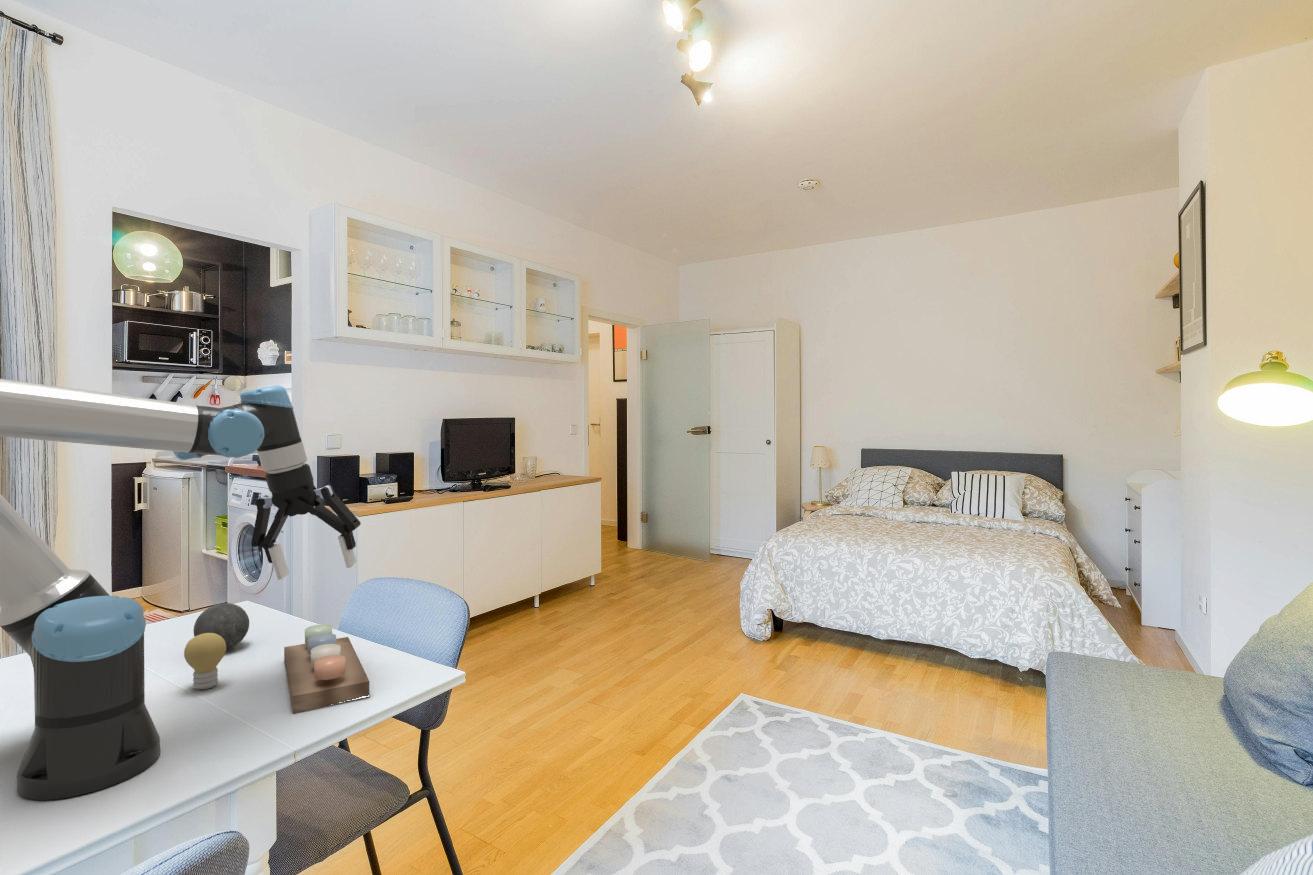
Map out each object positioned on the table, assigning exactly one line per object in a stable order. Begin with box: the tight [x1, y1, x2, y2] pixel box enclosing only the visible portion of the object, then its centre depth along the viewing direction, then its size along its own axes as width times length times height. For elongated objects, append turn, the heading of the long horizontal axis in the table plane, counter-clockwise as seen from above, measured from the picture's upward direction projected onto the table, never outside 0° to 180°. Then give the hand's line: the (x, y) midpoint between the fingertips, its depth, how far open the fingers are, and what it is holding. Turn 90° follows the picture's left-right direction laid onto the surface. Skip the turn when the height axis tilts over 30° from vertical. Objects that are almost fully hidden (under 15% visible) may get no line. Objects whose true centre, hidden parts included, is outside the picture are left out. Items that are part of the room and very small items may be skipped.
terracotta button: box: [314, 655, 345, 680], centre depth 114 cm, size 5×5×3 cm
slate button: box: [308, 633, 337, 655], centre depth 126 cm, size 5×5×3 cm
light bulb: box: [183, 633, 227, 691], centre depth 118 cm, size 6×6×10 cm
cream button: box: [311, 644, 341, 666], centre depth 120 cm, size 5×5×3 cm
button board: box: [283, 636, 370, 714], centre depth 123 cm, size 12×28×3 cm, turn 33°
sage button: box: [304, 623, 333, 644], centre depth 131 cm, size 5×5×3 cm
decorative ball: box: [193, 602, 250, 651], centre depth 138 cm, size 10×10×10 cm
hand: (317, 570), depth 124 cm, fingers open, 13 cm apart
